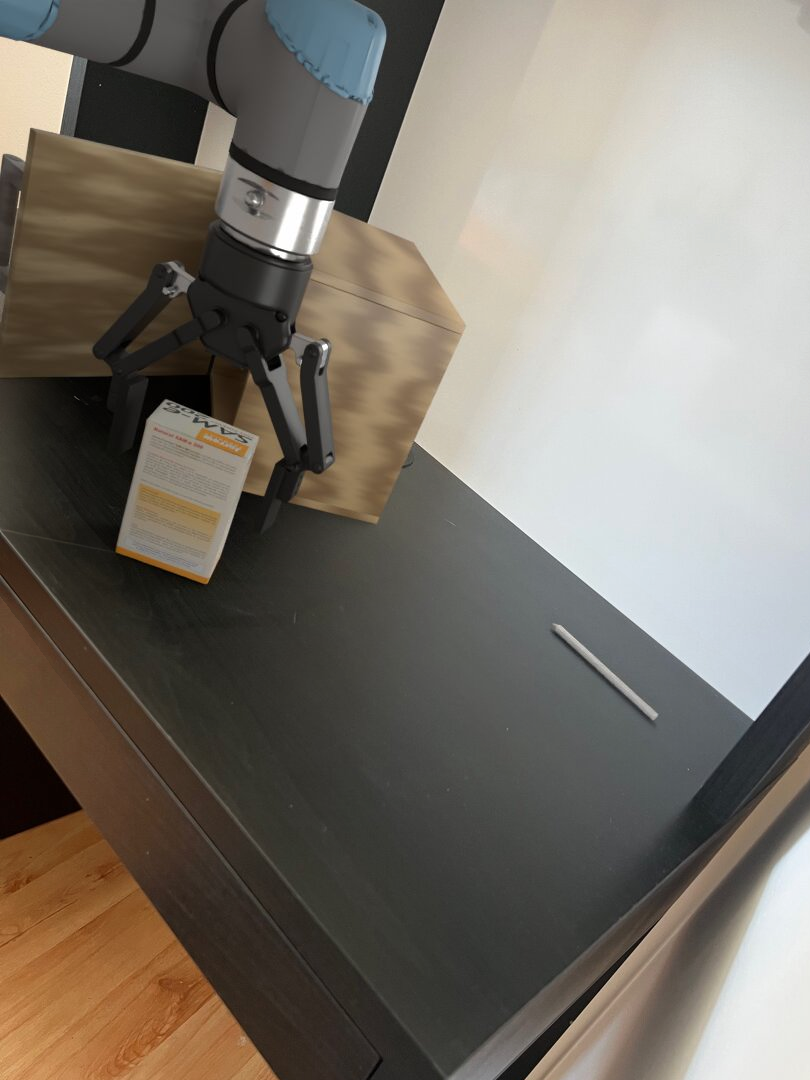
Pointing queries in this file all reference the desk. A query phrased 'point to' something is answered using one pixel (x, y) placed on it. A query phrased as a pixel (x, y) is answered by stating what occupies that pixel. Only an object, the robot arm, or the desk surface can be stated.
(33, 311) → the cupboard door
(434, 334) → the cupboard
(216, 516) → the supplement box
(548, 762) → the desk surface
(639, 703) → the pencil
